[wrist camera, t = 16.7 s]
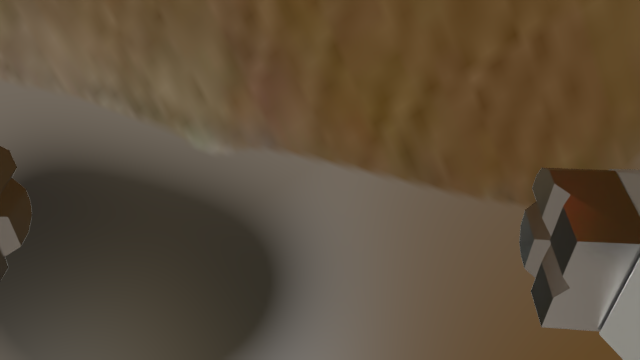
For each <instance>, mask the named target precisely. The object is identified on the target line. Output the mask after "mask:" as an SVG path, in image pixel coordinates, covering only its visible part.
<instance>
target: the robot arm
mask: <svg viewBox="0 0 640 360" xmlns="http://www.w3.org/2000/svg"><path fill="white" fill-rule="evenodd" d="M16 168H17V166H16V164H15V162H14V160H13V158H12V156H11V153H10V151H9V150H7V149H5V148H3V147H1V146H0V281H1V279H2V278H3V276H4V274H5V273H6V271H7V269H8V265H7V261H6V258H5V256H7V255H8V254H9V253H11V252H13V251H14V250H16V249H17V248H19V247H21V245H22V244H23V242H24V240H25V238H26V236H27V235H28V233H29V228H30V223H31V218H32V210H31V202H30V199H29V196H28V193H27V191H26V189H25V188H24V187H23V186H21V185H20V184H19V183H18V182H16V181H15V180H14V179H13V178H12V176H13V174H14V172H15V170H16ZM532 189H533V192H534V195H535V198H536V202H535V203H533V204H532V205H531V206H529V207H528V208H527V209H526V210H525V212H524V216H523V219H522V223H521V228H520V229H521V230H520V242H519V243H520V252H521V258H522V261H523V265H524V268H525V269H526V270H527V271H528V272H529V273H530V274H531V275H533V276H534V277H535V281H534V284H533V287H532V290H531V293H532V297H533V300H534V304H535V307H536V310H537V314H538V317H539V321H540V324H541V327H548V328H563V329H575V330H589V331H600V333H599V334H600V335H601V336H602V338H603V339H604V340H605V341H606V342H607V343H608V344H609V345H610V346H611V347H612V348H613V349H614V350H615V351H616V352H617V353H618V354H619V355H620V357H621V358H622V359H623V360H640V170H635V169H610V170H592V169H563V168H541V170H540V171H539V173H538V174H537V176H536V179H535V181H534V184H533V187H532Z"/></svg>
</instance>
